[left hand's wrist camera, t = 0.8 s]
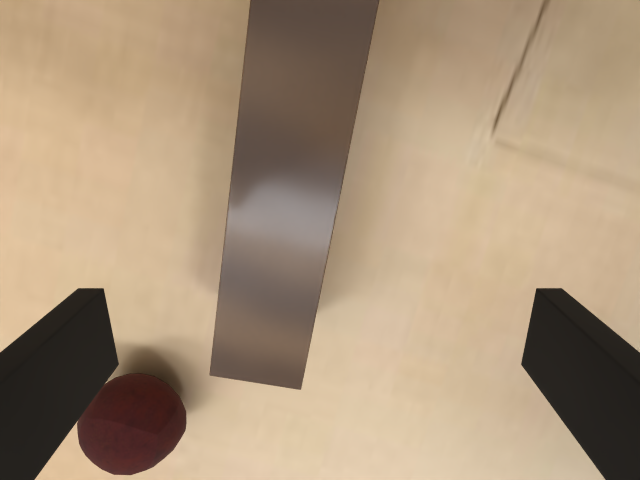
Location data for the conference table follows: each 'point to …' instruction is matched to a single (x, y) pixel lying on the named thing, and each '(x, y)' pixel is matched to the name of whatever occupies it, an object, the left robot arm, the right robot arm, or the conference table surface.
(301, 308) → the post
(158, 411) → the dark red ball
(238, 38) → the conference table surface
